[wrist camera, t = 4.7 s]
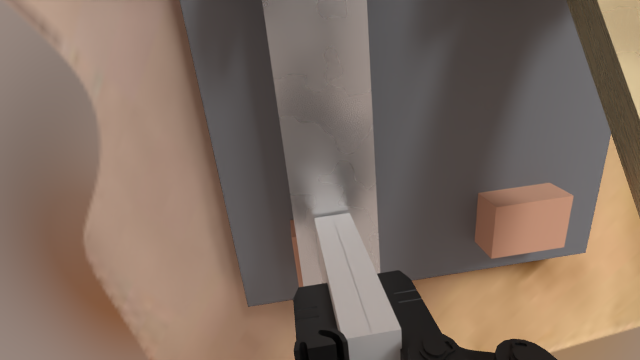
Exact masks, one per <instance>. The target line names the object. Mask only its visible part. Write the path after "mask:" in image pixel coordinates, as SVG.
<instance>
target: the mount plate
mask: <svg viewBox="0 0 640 360" xmlns="http://www.w3.org/2000/svg"><path fill="white" fill-rule="evenodd" d="M180 4H181V9H182V13H183V17H184V22H185V26H186V31H187V35H188V40H189V44H190V49H191V53H192V58H193V62H194V67H195V71H196V76H197V80H198V85H199V89H200V93H201V98H202V102H203V107H204V111H205V116H206V120H207V125H208V129H209V134H210V138H211V143H212V147H213V152H214V156H215V161H216V165H217V169H218V174H219V178H220V183H221V187H222V192H223V196H224V201H225V205H226V210H227V214H228V219H229V223H230V228H231V232H232V237H233V241H234V245H235V250H236V254H237V259H238V263H239V268H240V272H241V277H242V281H243V286H244V290H245V295H246V299H247V304H248V307H250V306H256V305H263V304H269V303H275V302H281V301H287V300H293V298H294V296H295V294H296V291H297V289H298V287H304V286H303V280H302V273H301V266H300V259H299V252H298V245H297V238H296V231H295V224H294V217H293V211H292V204H291V197H290V190H289V183H288V176H287V169H286V162H285V155H284V148H283V142H282V135H281V128H280V121H279V114H278V107H277V100H276V93H275V86H274V79H273V73H272V66H271V59H270V52H269V45H268V38H267V31H266V24H265V17H264V10H263V4H262V0H180ZM367 14H368V34H369V54H370V74H371V94H372V114H373V134H374V154H375V174H376V194H377V215H378V235H379V255H380V273H384V272H390V271H396V270H400V271H401V272H402V273H404V274H405V275H406V276H408V277H409V278H410V279H411V281H412V280H418V279H424V278H431V277H437V276H443V275H449V274H455V273H462V272H468V271H474V270H480V269H487V268H493V267H499V266H505V265H511V264H518V263H524V262H530V261H536V260H543V259H549V258H555V257H561V256H567V255H574V254H580V253H586V248H587V243H588V239H589V234H590V229H591V225H592V220H593V215H594V211H595V206H596V201H597V197H598V192H599V187H600V183H601V178H602V173H603V169H604V164H605V159H606V155H607V150H608V145H609V141H610V136H611V131H610V128H609V125H608V122H607V119H606V116H605V113H604V110H603V107H602V104H601V101H600V98H599V96H598V93H597V90H596V87H595V84H594V81H593V78H592V75H591V72H590V69H589V66H588V63H587V60H586V57H585V54H584V51H583V48H582V45H581V42H580V39H579V36H578V33H577V30H576V27H575V24H574V21H573V18H572V16H571V13H570V10H569V7H568V4H567V1H566V0H367Z"/></svg>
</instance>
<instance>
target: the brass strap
mask: <svg viewBox="0 0 640 360" xmlns="http://www.w3.org/2000/svg"><path fill="white" fill-rule="evenodd" d="M566 1H567V4H568V7H569V10H570V13H571V16H572V18H573V21H574V24H575V27H576V30H577V33H578V36H579V39H580V42H581V45H582V48H583V51H584V54H585V57H586V60H587V63H588V66H589V69H590V72H591V75H592V78H593V81H594V84H595V87H596V90H597V93H598V96H599V98H600V101H601V104H602V107H603V110H604V113H605V116H606V119H607V122H608V125H609V128H610V131H611V134H612V137H613V140H614V143H615V146H616V149H617V152H618V155H619V158H620V161H621V164H622V167H623V170H624V173H625V176H626V178H627V181H628V184H629V187H630V190H631V193H632V196H633V199H634V202H635V205H636V208H637V211H638V214H639V217H640V0H566Z"/></svg>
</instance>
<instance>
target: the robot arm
mask: <svg viewBox="0 0 640 360" xmlns="http://www.w3.org/2000/svg"><path fill="white" fill-rule="evenodd" d="M314 220H315V228H316V237H317V245H318V253H319V261H320V270H321V276H322V281H323V283H322V284H316V285H310V286H304V287H298V289H297V291H296V294H295V296H294V298H293V302H294V315H295V327H296V340H297V341H296V342H295V347H294V356H295V360H557V359H556V358H555V357H553V356H552V355H551V354H550V353H549V352H547V351H546V350H545V349H543V348H541V347H540V346H538V345H537V344H535V343H532V342H529V341H526V340H521V339H510V340H505V341H503V342H502V343H500V344H499V345H498V346H497V349H496V352H495V353H492V352H482V351H473V350H468V349H464V348H461V347H459V346H458V345H457V344H456V343H455V341H454V340H453V339H451V338H449V337H448V336H446V335H444V334H442V333H441V331H440V329H439V328H438V326H437V324H436V322H435V321H434V319H433V317H432V316H431V314H430V312H429V310H428V309H427V307H426V305H425V303H424V302H423V300H422V299H421V296H420V295H419V293H418V291H416V288H415V286H414V284H413V283H412V281H411V279H410V278H409V277H408V276H406V275H405V274H404V273H402V272H401V271H400V270H396V271H390V272H384V273H378V274H377V273H376V271H375V269H374V266H373V264H372V262H371V260H370V257H369V255H368V253H367V251H366V249H365V246H364V244H363V242H362V240H361V237H360V235H359V233H358V231H357V228H356V226H355V224H354V222H353V219H352V217H351V215H350V213H346V214H339V215H332V216H325V217H318V218H314Z"/></svg>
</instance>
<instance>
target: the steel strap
mask: <svg viewBox="0 0 640 360" xmlns="http://www.w3.org/2000/svg"><path fill="white" fill-rule="evenodd" d="M262 4H263V10H264V17H265V24H266V31H267V38H268V45H269V52H270V59H271V66H272V73H273V79H274V86H275V93H276V100H277V107H278V114H279V121H280V128H281V135H282V142H283V148H284V155H285V162H286V169H287V176H288V183H289V190H290V197H291V204H292V211H293V217H294V224H295V231H296V238H297V245H298V252H299V259H300V266H301V273H302V280H303V286H310V285H316V284H322V283H323V281H322V276H321V270H320V261H319V253H318V245H317V237H316V228H315V220H314V218H318V217H325V216H332V215H339V214H346V213H350V215H351V217H352V219H353V222H354V224H355V226H356V228H357V231H358V233H359V235H360V237H361V240H362V242H363V244H364V246H365V249H366V251H367V253H368V255H369V257H370V260H371V262H372V264H373V266H374V269H375V271H376V273H377V274H378V273H380V255H379V235H378V215H377V194H376V174H375V154H374V134H373V114H372V94H371V74H370V54H369V34H368V14H367V0H262Z"/></svg>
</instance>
